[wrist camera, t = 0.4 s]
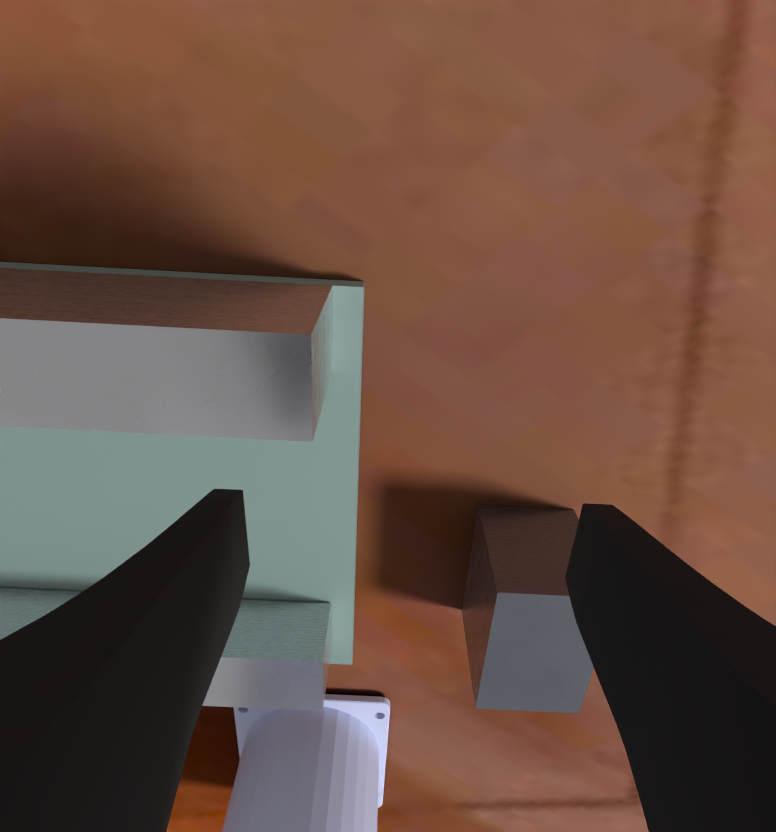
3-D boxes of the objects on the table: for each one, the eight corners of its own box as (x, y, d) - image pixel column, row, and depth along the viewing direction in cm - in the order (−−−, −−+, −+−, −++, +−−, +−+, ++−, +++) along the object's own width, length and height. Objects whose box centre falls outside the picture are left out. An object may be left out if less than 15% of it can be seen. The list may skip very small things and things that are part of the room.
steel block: (546, 612, 25) (579, 713, 21) (461, 608, 25) (475, 708, 21) (573, 508, 23) (616, 597, 18) (477, 503, 23) (497, 592, 18)
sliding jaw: (330, 651, 25) (323, 711, 23) (-103, 630, 25) (-163, 689, 22) (331, 603, 24) (322, 661, 21) (-128, 581, 24) (-194, 637, 21)
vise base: (353, 650, 27) (342, 773, 21) (-101, 629, 26) (-223, 748, 21) (364, 281, 18) (352, 336, 13) (-294, 245, 18) (-568, 288, 13)
